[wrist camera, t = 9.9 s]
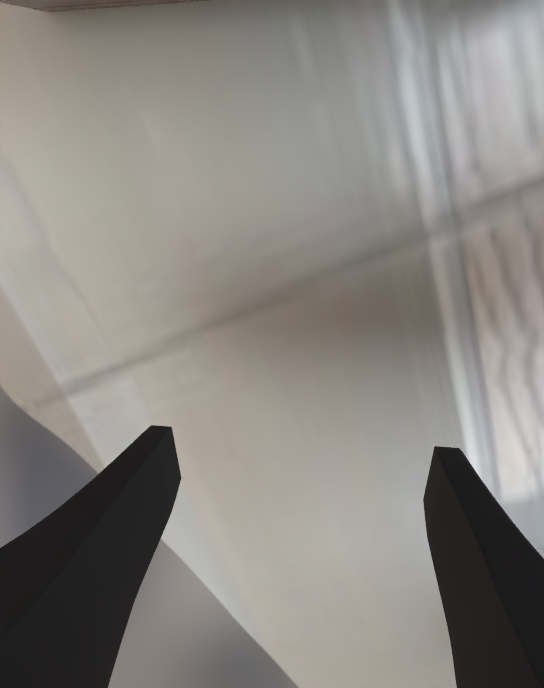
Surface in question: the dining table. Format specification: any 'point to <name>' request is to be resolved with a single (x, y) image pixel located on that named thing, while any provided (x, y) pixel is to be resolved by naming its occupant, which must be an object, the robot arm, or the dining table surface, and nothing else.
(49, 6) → the book rack
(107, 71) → the dining table surface
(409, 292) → the dining table surface
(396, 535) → the dining table surface
